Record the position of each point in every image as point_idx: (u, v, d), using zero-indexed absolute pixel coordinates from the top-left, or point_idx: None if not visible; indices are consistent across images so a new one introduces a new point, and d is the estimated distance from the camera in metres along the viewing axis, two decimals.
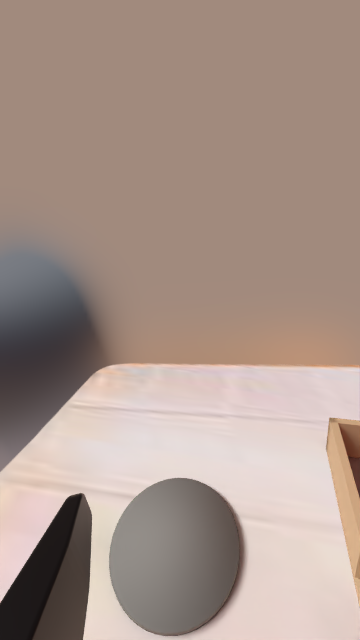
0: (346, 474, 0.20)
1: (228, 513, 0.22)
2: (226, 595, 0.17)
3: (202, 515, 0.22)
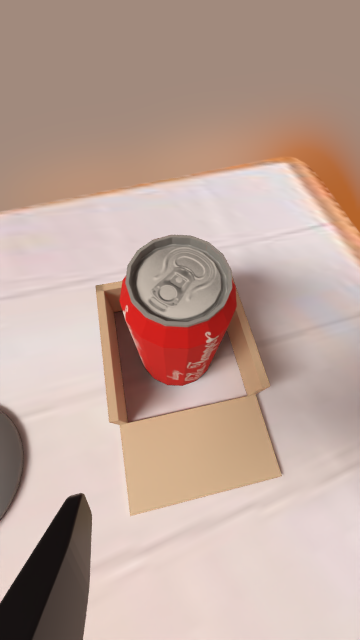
0: (104, 354, 0.19)
1: (5, 423, 0.20)
2: (11, 496, 0.19)
3: None
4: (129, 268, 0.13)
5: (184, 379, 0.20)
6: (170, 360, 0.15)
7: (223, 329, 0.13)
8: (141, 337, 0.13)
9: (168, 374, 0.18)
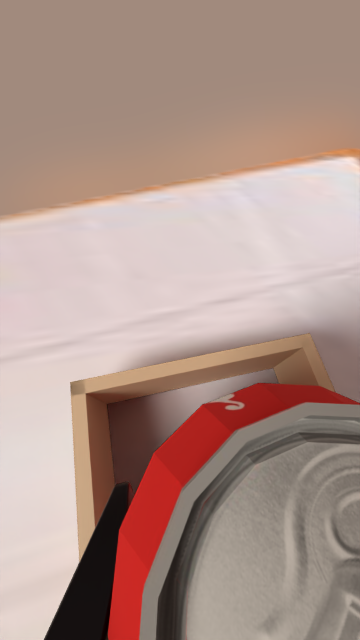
0: (83, 551, 0.09)
1: None
2: None
3: None
4: (151, 619, 0.03)
5: None
6: None
7: None
8: None
9: None
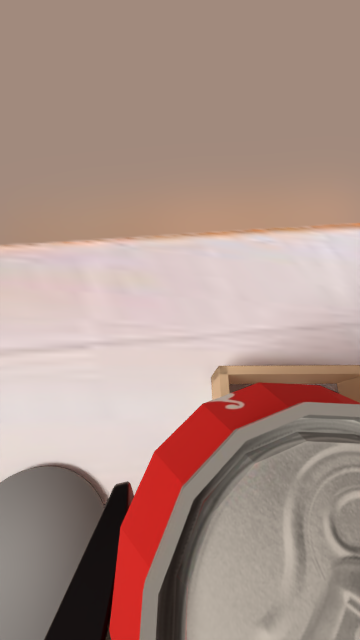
0: None
1: (95, 503, 0.18)
2: None
3: (64, 514, 0.18)
4: (151, 614, 0.03)
5: None
6: None
7: None
8: None
9: None
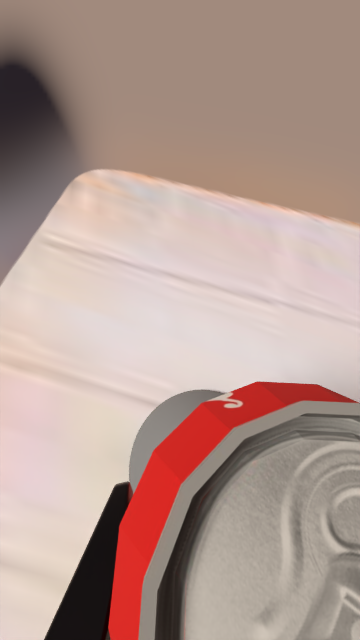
0: None
1: None
2: None
3: None
4: (151, 610, 0.03)
5: None
6: None
7: None
8: None
9: None
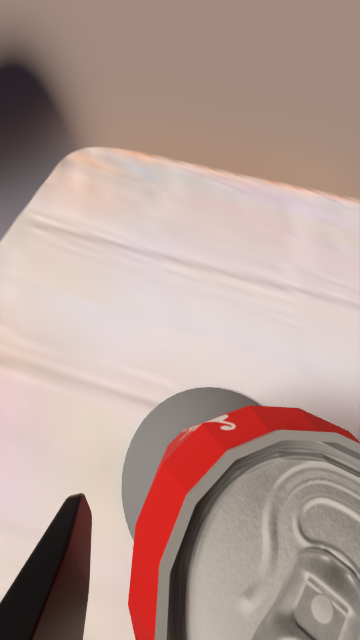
0: None
1: None
2: None
3: None
4: (165, 586, 0.04)
5: None
6: None
7: None
8: None
9: None
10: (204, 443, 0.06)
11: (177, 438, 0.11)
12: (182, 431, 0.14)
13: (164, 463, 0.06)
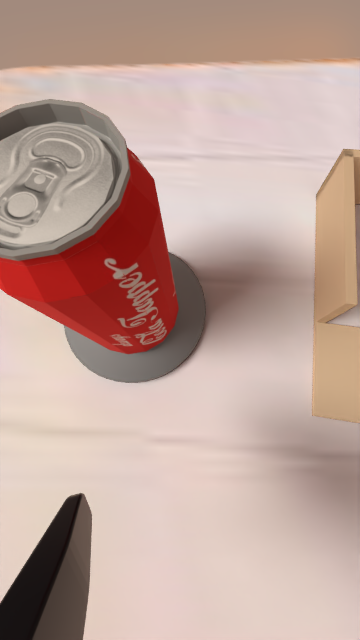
0: (347, 228, 0.15)
1: (193, 279, 0.19)
2: (192, 349, 0.18)
3: None
4: None
5: (140, 343, 0.15)
6: (87, 322, 0.10)
7: (140, 251, 0.08)
8: (8, 293, 0.08)
9: (111, 341, 0.13)
10: None
11: None
12: None
13: None
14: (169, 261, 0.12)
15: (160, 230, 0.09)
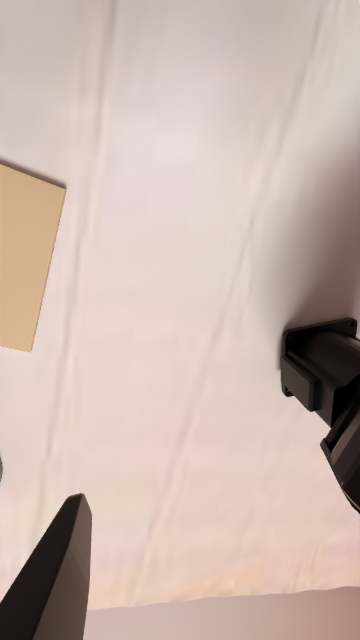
0: None
1: None
2: None
3: None
4: None
5: None
6: None
7: None
8: None
9: None
10: None
11: None
12: None
13: None
14: None
15: None
